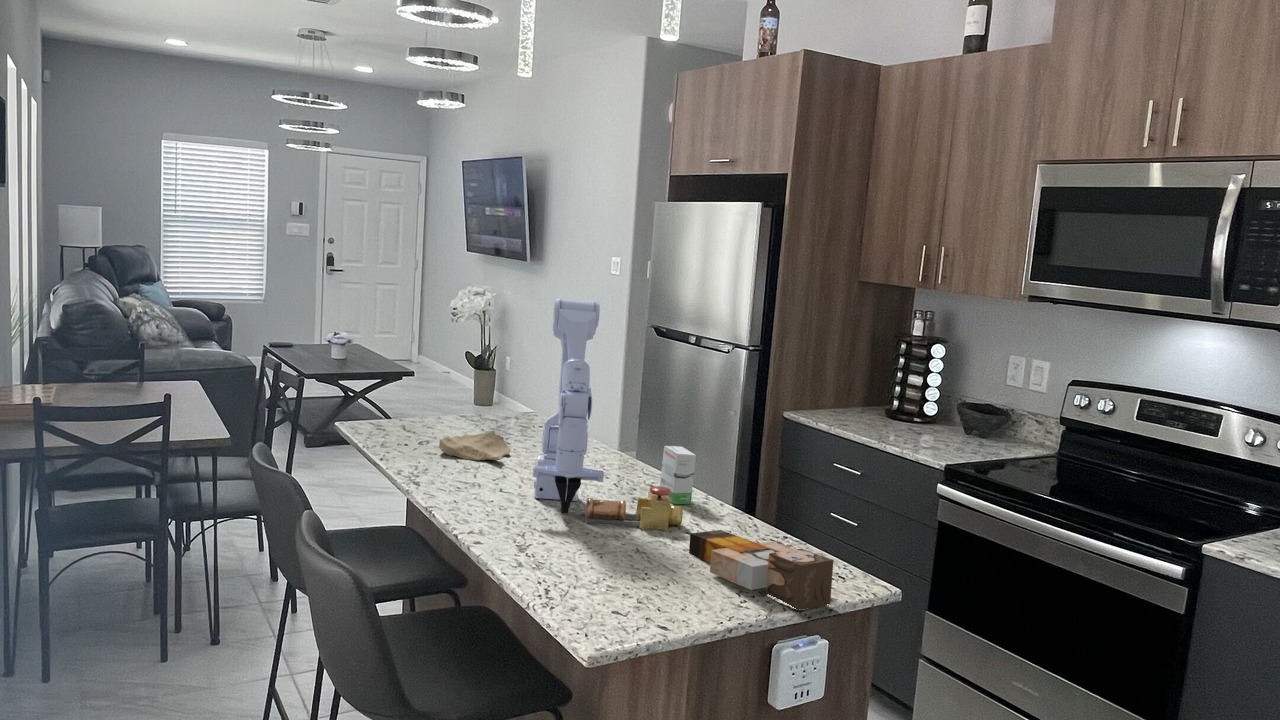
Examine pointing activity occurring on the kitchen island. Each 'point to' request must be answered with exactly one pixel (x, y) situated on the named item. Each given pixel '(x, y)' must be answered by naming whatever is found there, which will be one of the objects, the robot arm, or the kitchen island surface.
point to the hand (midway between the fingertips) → (564, 512)
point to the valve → (658, 510)
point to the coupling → (605, 509)
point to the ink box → (678, 473)
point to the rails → (615, 521)
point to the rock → (475, 446)
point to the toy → (767, 567)
